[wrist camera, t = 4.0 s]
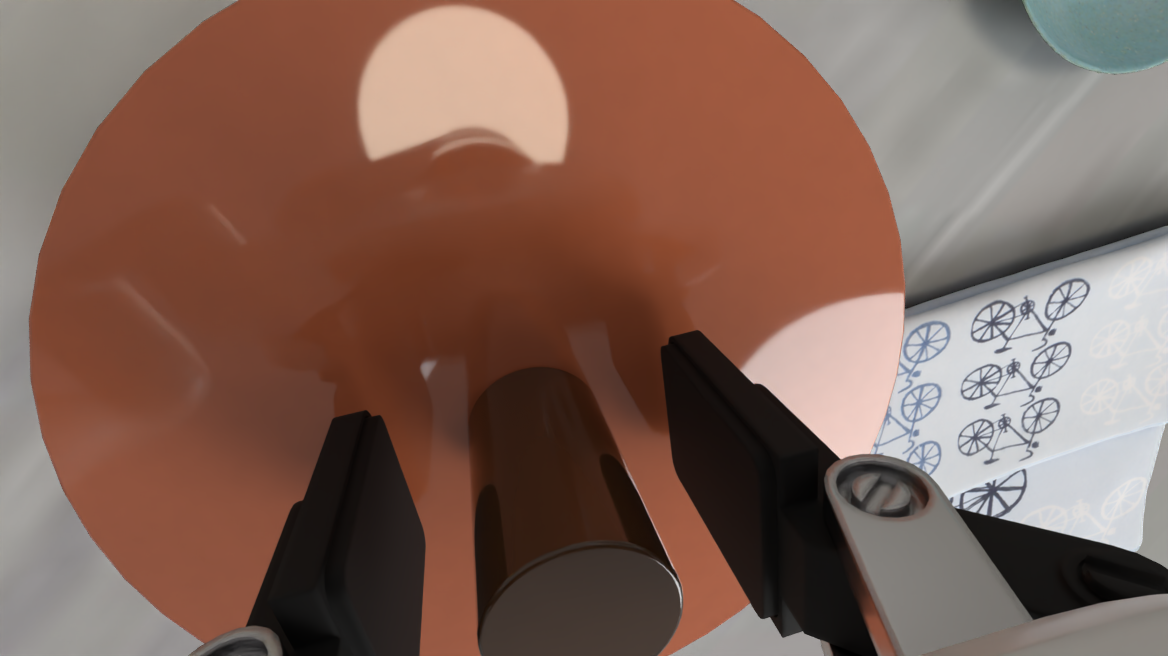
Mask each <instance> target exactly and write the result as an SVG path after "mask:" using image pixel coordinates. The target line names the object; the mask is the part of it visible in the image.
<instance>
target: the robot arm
mask: <svg viewBox="0 0 1168 656" xmlns="http://www.w3.org/2000/svg"><path fill="white" fill-rule="evenodd" d="M660 353H661V363H662V372H663V381H664V390H665V399H666V408H667V416H668V425H669V434H670V443H671V452H672V460H673V465H674V468H675V471H676V474H677V476H678V478H679V480H680V482H681V483H682V485H683V487H684V489H685V490H686V492H687V494H688V496H689V497H690V499H691V501H692V502H693V504H694V506H695V508H696V509H697V511H698V513H699V515H700V516H701V518H702V520H703V522H704V523H705V525H706V527H707V528H708V530H709V532H710V534H711V535H712V537H713V539H714V541H715V542H716V544H717V546H718V548H719V549H720V551H721V553H722V555H723V556H724V558H725V560H726V561H727V563H728V565H729V567H730V568H731V570H732V572H733V574H734V575H735V577H736V579H737V581H738V582H739V584H740V586H741V587H742V589H743V591H744V593H745V594H746V596H747V598H748V600H749V601H750V603H751V605H752V607H753V608H754V610H755V612H756V613H757V615H758V616H759V617H760V618H761V619H765V618H768V617H770V618H771V619H772V621H773V623H774V624H775V626H776V628H777V629H778V631H779V633H780V634H781V636H782V638H783V637H786V636H789V635H792V634H795V633H799V632H802V631H803V632H804V633H805V634H807V635H810V636H812V637H815V638H817V639H820V641H821V647H822V650H823V653H824V656H1168V569H1166V568H1165V567H1164V566H1162V565H1161V564H1158V563H1156V562H1154V561H1152V560H1150V559H1148V558H1146V557H1144V556H1142V555H1140V554H1138V553H1135V552H1132V551H1129V550H1126V549H1122V548H1119V547H1116V546H1113V545H1109V544H1105V543H1101V542H1097V541H1092V540H1088V539H1084V538H1080V537H1076V536H1071V535H1067V534H1063V533H1059V532H1055V531H1051V530H1046V529H1042V528H1038V527H1034V526H1030V525H1026V524H1021V523H1017V522H1013V521H1009V520H1005V519H1000V518H996V517H992V516H988V515H984V514H980V513H975V512H971V511H967V510H963V509H959V508H955V507H954V506H953V505H952V504H951V502H950V501H949V499H948V498H947V496H946V495H945V494H944V492H943V491H942V489H941V488H940V486H939V485H938V484H937V483H936V482H935V481H934V480H933V479H932V477H931V476H930V475H929V474H928V473H926V472H925V471H923V470H922V469H920V468H918V467H917V466H915V465H914V464H911V463H909V462H906V461H903V460H901V459H898V458H895V457H890V456H885V455H880V454H859V455H853V456H847V457H845V458H843V459H840V458H839V457H838V456H837V455H836V454H835V453H834V452H833V451H832V450H831V449H830V448H829V447H828V446H827V445H826V444H825V443H823V442H822V441H821V440H820V439H819V438H818V437H817V436H816V435H815V434H814V433H813V432H812V431H811V430H810V429H809V428H808V427H807V426H806V425H805V424H804V423H803V422H802V421H801V420H800V419H799V418H797V417H796V416H795V415H794V414H793V413H792V412H791V411H790V410H789V409H788V408H787V407H786V406H785V405H784V404H783V403H782V402H781V401H780V400H779V399H778V398H777V397H776V396H775V395H774V394H773V393H771V392H770V391H769V390H768V389H767V388H766V387H765V386H763V385H762V384H757V383H756V384H753V383H752V382H751V381H750V380H749V379H748V378H747V377H746V376H745V375H744V374H743V373H742V372H741V371H740V370H739V369H738V368H737V367H736V366H735V365H734V364H733V363H732V362H731V361H730V360H729V359H728V358H727V357H726V356H725V355H724V354H723V353H722V352H721V351H720V350H719V349H718V348H717V347H716V346H715V345H714V344H713V343H712V342H711V341H710V340H709V339H708V338H707V337H706V336H705V335H704V334H703V333H702V332H701V331H699V330H695V331H691V332H687V333H683V334H679V335H674V336H670V337H669V341H668V345H665V346H661V350H660ZM425 552H426V542H425V534H424V530H423V526H422V523H421V521H420V518H419V515H418V513H417V510H416V507H415V504H414V502H413V499H412V496H411V493H410V491H409V488H408V485H407V482H406V480H405V477H404V474H403V471H402V469H401V466H400V463H399V460H398V458H397V455H396V452H395V450H394V447H393V444H392V441H391V439H390V436H389V433H388V430H387V428H386V425H385V422H384V420H383V418H382V416H381V415H376V416H371V414H370V413H369V411H367V410H363V411H359V412H355V413H351V414H347V415H343V416H339V417H335V418H333V419H332V421H331V424H330V427H329V430H328V432H327V435H326V438H325V441H324V444H323V446H322V449H321V452H320V455H319V457H318V460H317V463H316V466H315V469H314V471H313V474H312V477H311V480H310V483H309V485H308V488H307V491H306V494H305V496H304V499H303V500H302V501H298V502H297V503H295V504H293V506H292V508H291V510H290V512H289V514H288V517H287V520H286V522H285V525H284V527H283V530H282V533H281V535H280V538H279V541H278V543H277V546H276V548H275V551H274V554H273V556H272V559H271V562H270V564H269V567H268V569H267V572H266V575H265V577H264V580H263V583H262V585H261V588H260V590H259V593H258V596H257V598H256V601H255V604H254V606H253V609H252V611H251V614H250V617H249V619H248V622H247V624H246V627H241V628H237V629H234V630H231V631H229V632H226V633H224V634H221V635H219V636H217V637H215V638H213V639H212V640H210V641H208V642H207V643H205V644H203V645H201V646H200V647H198V648H197V649H196V650H195V651H193V652H192V653H191V654H190V655H188V656H420V640H421V622H422V605H423V587H424V570H425Z"/></svg>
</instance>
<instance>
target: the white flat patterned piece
mask: <svg viewBox="0 0 1168 656" xmlns="http://www.w3.org/2000/svg"><path fill="white" fill-rule="evenodd" d="M1167 423H1168V226H1164V227H1161V228H1158V229H1155V230H1151V231H1148V232H1145V233H1142V234H1139V235H1136V236H1133V237H1130V238H1127V239H1124V240H1121V241H1118V242H1115V243H1111V244H1108V245H1105V246H1102V247H1098V248H1095V249H1092V250H1088V251H1085V252H1082V253H1079V254H1076V255H1073V256H1070V257H1067V258H1064V259H1060V260H1057V261H1053V262H1050V263H1046V264H1043V265H1040V266H1036V267H1033V268H1030V269H1028V270H1025V271H1022V272H1019V273H1016V274H1013V275H1010V276H1006V277H1003V278H999V279H996V280H993V281H989V282H986V283H982V284H979V285H976V286H973V287H970V288H967V289H964V290H960V291H957V292H954V293H952V294H949V295H946V296H943V297H939V298H936V299H933V300H930V301H927V302H924V303H921V304H919V305H916V306H913V307H910V308H907V309H905V322H904V336H903V342H902V349H901V355H900V362H899V368H898V374H897V378H896V382H895V385H894V389H893V392H892V396H891V399H890V403H889V407H888V410H887V414H886V417H885V419H884V422H883V424H882V426H881V429H880V431H879V434H878V436H877V439H876V441H875V444H874V446H873V449H872V451H871V453H870V454H880V455H885V456H890V457H895V458H898V459H901V460H903V461H906V462H909V463H911V464H914V465H915V466H917V467H918V468H920V469H922V470H923V471H925V472H926V473H928V474H929V475H930V476H931V477H932V479H933V480H934V481H935V482H936V483H937V484H938V485H939V486H940V488H941V489H942V491H943V492H944V494H945V495H946V496H947V498H948V499H949V501H950V502H951V504H952V505H953V506H954V507H955V508H959V509H963V510H967V511H971V512H975V513H980V514H984V515H988V516H992V517H996V518H1000V519H1005V520H1009V521H1013V522H1017V523H1021V524H1026V525H1030V526H1034V527H1038V528H1042V529H1046V530H1051V531H1055V532H1059V533H1063V534H1067V535H1071V536H1076V537H1080V538H1084V539H1088V540H1092V541H1097V542H1101V543H1105V544H1109V545H1113V546H1116V547H1119V548H1122V549H1126V550H1129V551H1132V552H1135V551H1138V550H1139V548H1140V545H1141V543H1142V535H1143V516H1144V510H1145V501H1146V492H1147V489H1148V485H1149V482H1150V479H1151V476H1152V472H1153V468H1154V465H1155V461H1156V458H1157V454H1158V450H1159V446H1160V441H1161V438H1162V434H1163V431H1164V428H1165V424H1167Z"/></svg>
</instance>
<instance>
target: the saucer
mask: <svg viewBox="0 0 1168 656" xmlns="http://www.w3.org/2000/svg"><path fill="white" fill-rule="evenodd" d="M1022 2H1023V5H1024V7H1025V9H1026V12H1027V13H1028V15H1029V17H1030V19H1031V21H1032V23H1033V25H1034V26H1035V28H1036V30H1037V31H1038V32H1039V34H1040V35H1041V36H1042V38H1043V39H1044V40H1045V42H1046V43H1047V44H1048V45H1049V46H1050V47H1051V48H1052V49H1053V50H1054V51H1055V52H1056V53H1057V54H1059V55H1060V56H1061V57H1062V58H1064V59H1065V60H1067V61H1069V62H1071V63H1072V64H1074V65H1076V66H1079V67H1081V68H1084V69H1087V70H1090V71H1095V72H1097V73H1106V74H1108V73H1110V74H1114V75H1115V74H1124V73H1133V72H1138V71H1141V70H1146V69H1149V68H1152V67H1155V66H1158V65H1160V64H1162V63H1164V62H1166V61H1168V0H1022Z"/></svg>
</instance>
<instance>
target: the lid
mask: <svg viewBox="0 0 1168 656" xmlns="http://www.w3.org/2000/svg"><path fill="white" fill-rule="evenodd" d="M904 322H905V277H904V268H903V259H902V249H901V240H900V236H899V232H898V228H897V224H896V220H895V216H894V212H893V208H892V204H891V200H890V196H889V193H888V190H887V188H886V185H885V183H884V180H883V178H882V176H881V173H880V171H879V168H878V166H877V164H876V161H875V159H874V156H873V154H872V152H871V149H870V147H869V145H868V143H867V141H866V140H865V138H864V136H863V135H862V133H861V132H860V130H859V128H858V127H857V125H856V123H855V122H854V120H853V118H852V117H851V115H850V113H849V112H848V110H847V108H846V107H845V105H844V103H843V102H842V100H841V99H840V98H839V96H838V95H837V94H836V93H835V92H834V90H833V89H832V88H831V87H830V86H829V84H828V83H827V82H826V81H825V80H824V79H823V77H822V76H821V75H820V74H819V73H818V71H817V70H816V69H815V68H814V67H813V65H812V64H811V63H810V62H809V61H808V59H807V58H806V57H805V56H804V55H803V54H802V53H801V52H800V51H798V50H797V49H796V48H795V47H794V46H793V45H792V44H790V43H789V42H788V41H787V40H786V39H785V38H784V37H782V36H781V35H780V34H779V33H778V32H777V31H776V30H774V29H773V28H772V27H771V26H770V25H769V24H768V23H766V22H765V21H764V20H763V19H762V18H761V17H760V16H758V15H757V14H755V13H753V12H752V11H750V10H749V9H747V8H746V7H744V6H742V5H741V4H739V3H738V2H736V1H734V0H238V1H236V2H234V3H233V4H231V5H229V6H228V7H226V8H224V9H223V10H221V11H219V12H217V13H216V14H214V15H212V16H211V17H209V18H207V19H206V20H204V21H203V22H201V23H200V24H199V25H198V26H197V27H196V28H194V29H193V30H192V31H191V32H190V33H189V34H187V35H186V36H185V37H184V38H183V39H181V40H180V41H179V42H178V43H177V44H176V45H174V46H173V47H172V48H171V49H170V50H169V51H167V52H166V53H165V54H164V55H163V56H161V57H160V58H159V59H158V60H157V61H156V62H154V63H153V64H152V65H151V66H150V67H148V68H147V69H146V70H145V71H144V72H143V73H142V75H141V76H140V77H139V78H138V79H137V81H136V82H135V83H134V84H133V85H132V87H131V88H130V89H129V90H128V91H127V93H126V94H125V95H124V96H123V97H122V99H121V100H120V101H119V102H118V103H117V105H116V106H115V107H114V108H113V109H112V111H111V112H110V113H109V114H108V115H107V117H106V118H105V119H104V120H103V121H102V123H101V124H100V125H99V126H98V127H97V129H96V131H95V132H94V134H93V136H92V138H91V139H90V141H89V143H88V145H87V146H86V148H85V150H84V152H83V153H82V155H81V157H80V159H79V160H78V162H77V164H76V166H75V167H74V169H73V171H72V173H71V174H70V176H69V178H68V180H67V181H66V183H65V185H64V187H63V189H62V191H61V194H60V196H59V199H58V202H57V205H56V208H55V211H54V214H53V216H52V219H51V222H50V225H49V228H48V231H47V233H46V236H45V239H44V242H43V245H42V248H41V251H40V253H39V258H38V264H37V271H36V277H35V283H34V290H33V296H32V303H31V309H30V315H29V339H30V378H31V385H32V390H33V394H34V399H35V404H36V409H37V414H38V419H39V424H40V429H41V433H42V438H43V441H44V443H45V446H46V448H47V451H48V453H49V456H50V459H51V461H52V464H53V466H54V469H55V471H56V474H57V476H58V479H59V482H60V484H61V487H62V489H63V491H64V493H65V495H66V496H67V498H68V500H69V502H70V503H71V505H72V507H73V508H74V510H75V512H76V513H77V515H78V517H79V519H80V520H81V522H82V524H83V525H84V527H85V529H86V530H87V532H88V534H89V535H90V537H91V539H92V540H93V541H94V542H95V543H96V545H97V546H98V547H99V548H100V550H101V551H102V552H103V553H104V554H105V556H106V557H107V558H108V559H109V561H110V562H111V563H112V564H113V566H114V567H115V568H116V569H117V570H118V572H119V573H120V574H121V575H122V577H123V578H124V579H125V580H126V581H127V582H128V583H129V584H131V585H132V586H133V587H134V588H135V589H136V590H137V591H138V592H139V593H140V594H141V595H142V596H143V597H145V598H146V599H147V600H148V601H149V602H150V603H151V604H152V605H153V606H154V607H155V608H156V609H157V610H159V611H160V612H161V613H162V614H163V615H165V616H166V617H167V618H169V619H170V620H172V621H173V622H174V623H176V624H177V625H179V626H180V627H181V628H183V629H184V630H186V631H187V632H188V633H190V634H191V635H193V636H194V637H196V638H197V639H198V640H200V641H201V642H203V643H204V644H205V643H207V642H208V641H210V640H212V639H213V638H215V637H217V636H219V635H221V634H224V633H226V632H229V631H231V630H234V629H237V628H241V627H246V624H247V622H248V619H249V617H250V614H251V611H252V609H253V606H254V604H255V601H256V598H257V596H258V593H259V590H260V588H261V585H262V583H263V580H264V577H265V575H266V572H267V569H268V567H269V564H270V562H271V559H272V556H273V554H274V551H275V548H276V546H277V543H278V541H279V538H280V535H281V533H282V530H283V527H284V525H285V522H286V520H287V517H288V514H289V512H290V510H291V508H292V506H293V504H295V503H297V502H298V501H302V500H303V499H304V496H305V494H306V491H307V488H308V485H309V483H310V480H311V477H312V474H313V471H314V469H315V466H316V463H317V460H318V457H319V455H320V452H321V449H322V446H323V444H324V441H325V438H326V435H327V432H328V430H329V427H330V424H331V421H332V419H333V418H335V417H339V416H343V415H347V414H351V413H355V412H359V411H363V410H367V411H369V413H370V414H371V416H376V415H381V416H382V418H383V420H384V422H385V425H386V428H387V430H388V433H389V436H390V439H391V441H392V444H393V447H394V450H395V452H396V455H397V458H398V460H399V463H400V466H401V469H402V471H403V474H404V477H405V480H406V482H407V485H408V488H409V491H410V493H411V496H412V499H413V502H414V504H415V507H416V510H417V513H418V515H419V518H420V521H421V523H422V526H423V530H424V534H425V542H426V552H425V570H424V587H423V605H422V622H421V640H420V656H669V655H671V654H673V653H674V652H676V651H678V650H680V649H681V648H683V647H685V646H687V645H688V644H690V643H692V642H694V641H695V640H697V639H699V638H701V637H703V636H704V635H706V634H708V633H709V632H711V631H712V630H714V629H715V628H716V627H718V626H719V625H721V624H722V623H724V622H725V621H727V620H728V619H729V618H731V617H732V616H734V615H735V614H737V613H738V612H740V611H741V610H742V609H744V608H745V607H746V606H747V605H748V604H750V601H749V600H748V598H747V596H746V594H745V593H744V591H743V589H742V587H741V586H740V584H739V582H738V581H737V579H736V577H735V575H734V574H733V572H732V570H731V568H730V567H729V565H728V563H727V561H726V560H725V558H724V556H723V555H722V553H721V551H720V549H719V548H718V546H717V544H716V542H715V541H714V539H713V537H712V535H711V534H710V532H709V530H708V528H707V527H706V525H705V523H704V522H703V520H702V518H701V516H700V515H699V513H698V511H697V509H696V508H695V506H694V504H693V502H692V501H691V499H690V497H689V496H688V494H687V492H686V490H685V489H684V487H683V485H682V483H681V482H680V480H679V478H678V476H677V474H676V471H675V468H674V465H673V460H672V452H671V443H670V434H669V425H668V416H667V408H666V399H665V390H664V381H663V372H662V363H661V353H660V350H661V346H665V345H668V341H669V337H670V336H674V335H679V334H683V333H687V332H691V331H695V330H699V331H701V332H702V333H703V334H704V335H705V336H706V337H707V338H708V339H709V340H710V341H711V342H712V343H713V344H714V345H715V346H716V347H717V348H718V349H719V350H720V351H721V352H722V353H723V354H724V355H725V356H726V357H727V358H728V359H729V360H730V361H731V362H732V363H733V364H734V365H735V366H736V367H737V368H738V369H739V370H740V371H741V372H742V373H743V374H744V375H745V376H746V377H747V378H748V379H749V380H750V381H751V382H752V383H753V384H756V383H757V384H762V385H763V386H765V387H766V388H767V389H768V390H769V391H770V392H771V393H773V394H774V395H775V396H776V397H777V398H778V399H779V400H780V401H781V402H782V403H783V404H784V405H785V406H786V407H787V408H788V409H789V410H790V411H791V412H792V413H793V414H794V415H795V416H796V417H797V418H799V419H800V420H801V421H802V422H803V423H804V424H805V425H806V426H807V427H808V428H809V429H810V430H811V431H812V432H813V433H814V434H815V435H816V436H817V437H818V438H819V439H820V440H821V441H822V442H823V443H825V444H826V445H827V446H828V447H829V448H830V449H831V450H832V451H833V452H834V453H835V454H836V455H837V456H838V457H839V458H840V459H843V458H845V457H847V456H853V455H859V454H870V453H871V451H872V449H873V446H874V444H875V441H876V439H877V436H878V434H879V431H880V429H881V426H882V424H883V422H884V419H885V417H886V414H887V410H888V407H889V403H890V399H891V396H892V392H893V389H894V385H895V382H896V378H897V374H898V368H899V362H900V355H901V349H902V342H903V336H904Z"/></svg>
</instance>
